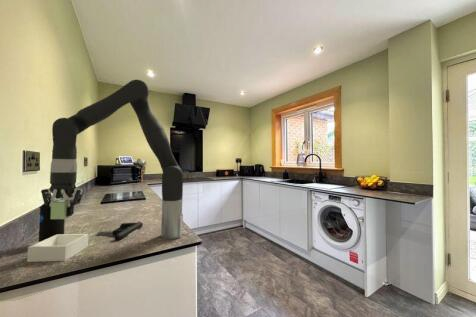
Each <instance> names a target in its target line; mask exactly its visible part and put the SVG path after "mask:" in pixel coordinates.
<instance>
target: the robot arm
mask: <svg viewBox="0 0 476 317" xmlns="http://www.w3.org/2000/svg"><path fill="white" fill-rule="evenodd" d="M149 94H150V88H149V86H148V84H147V83H146V82H145V81H143V80H141V79H133V80H131V81H129V82H127V83H125V85H123V86H122V87H120V88H119V89H117V90H116V91H114V92H113V93H111V94H109V95H108V96H106V97H103V98H102V99H100V100H98V101H96V102H94V103H92V104H90V105H87V106H86V107H84V108H81V109H79V110H78V111H77V112H76V113H75V114H74V115H71V116H69V117H60V118H57V119H56V120H54V122H53V124H52V128H51V130H52V131H51V132H52V133H51V134H52V151H51V152H52V153H51V154H52V156H51V161H50V170H49V173H50V174H49V184H50V187H49V188H44V189H41V191H40V193H41V197H42V200H43V204H45V205H49V206H50V207H51V203H53V202H57V201H61V200H62V199H63V200H64V201H66V202H67V210H66V216H67V217H68V218H70V217H69V216H71V217H73V216H72V214H73V215H74V211H75V206H76V205H80V203H81V200H82V199H83V195H84V192H85V189H83V188H77V186H76V183H77V173H78V172H77V171H78V162H77V157H78V156H77V154H78V151H77V150H78V149H77V138H78V135H79V134H81V133H82V132H84V131H86V130H87V129H89V128H91V127H92V126H95V125H97V124H99V123H101V122H103V121H104V120H106V119H108V118H109V117H111V116H112V115H113V114H114V113H116V112H117V111H118V110H120V109H121V108H123V107H124V106H126V105H127V104H130V106H131V107H132V109H133V111H134V112H135V115H136V116H137V119H138V123H139V125H140V127H141V130H142V133H143V136H144V137H145V140H146V142H147V144H148V146H149V148H150V149H151V151H152V153H153V154H154V155H155V157H156V159H157V160H158V163H159V165H160V167H161V171H162V175H161V226H160V227H161V228H160V231H161V232H160V233H161V234H160V237H161V238H162V239H164V240H172V239H173V240H174V239H178V238H179V239H180V238H181V237H182V235H183V231H184V230H183V228H184V227H183V226H184V225H183V224H184V214H183V194H184V193H183V191H184V190H183V189H184V173H183V170H182V168H181V167H180V165H179V164H178V162H177V160H176V158H175V156H174V154H173V151H172V147H171V145H170V141H169V138H168V135H167V133H166V130H165V129H164V126H163V125H162V123H161V122H160V120H159V119H158V117H156V115H155V114H154V112H153V111H152V109H151V106H150V102H149V99H148V98H149ZM70 201H71V202H70ZM50 214H51V212H50Z"/></svg>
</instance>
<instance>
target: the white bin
mask: <svg viewBox="0 0 476 317" xmlns="http://www.w3.org/2000/svg"><path fill="white" fill-rule="evenodd" d="M88 247H89V233H75V234H74V233H69V234H68V233H66V234H65V233H64V234H57V235H54V236H52V237H50V238H48V239H45V240H43V241H41V242H39V241H38V242H36V243H34V244H32V245H29V246H28V247H27V257H26V258H27V260H26V262H27V263H31V262H32V263H33V262H34V263H35V262H36V263H37V262H61V261H62V262H65V261H67V260H68V259H70V258H72V257H73V256H75V255H76V254H78V253H79V252H81V251H83V250H84V249H86V248H88Z"/></svg>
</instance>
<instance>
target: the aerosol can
mask: <svg viewBox="0 0 476 317" xmlns="http://www.w3.org/2000/svg"><path fill="white" fill-rule="evenodd" d="M38 208H39V221H38V222H39V223H38V224H39V225H38V227H39V228H38V242H41V241H43V240H45V239H48V238H50V237H52V236H54V235H57V234H65V224H66V223H65V219H51V214H50V212H51V207H50V206H49V205H45V204H44V203H43V204H41V206H39V207H38Z"/></svg>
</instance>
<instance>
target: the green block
mask: <svg viewBox="0 0 476 317" xmlns="http://www.w3.org/2000/svg"><path fill="white" fill-rule="evenodd" d="M70 202H71V201H70ZM66 210H67V202H66V201H64V199H63V200H62V199H61V200H60V201H57V202H53V203H51V219H69V218H71V217H73V216H74V213H73V214H72V216H69V217H67V216H66Z"/></svg>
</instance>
